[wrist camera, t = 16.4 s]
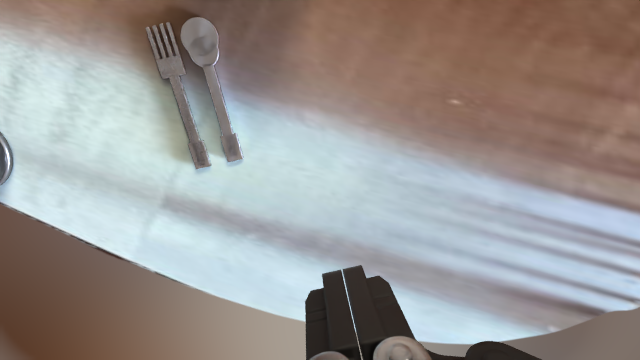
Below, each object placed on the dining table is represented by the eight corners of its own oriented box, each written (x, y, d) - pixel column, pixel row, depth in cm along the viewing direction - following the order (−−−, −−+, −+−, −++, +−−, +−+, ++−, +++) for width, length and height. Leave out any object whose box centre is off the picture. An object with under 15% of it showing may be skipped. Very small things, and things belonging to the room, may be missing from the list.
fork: (215, 164, 37) (214, 165, 36) (193, 169, 37) (192, 170, 36) (170, 22, 32) (169, 21, 32) (146, 28, 32) (144, 27, 32)
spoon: (252, 156, 37) (251, 156, 36) (220, 163, 37) (219, 164, 36) (213, 14, 32) (211, 13, 32) (177, 22, 32) (175, 21, 32)
